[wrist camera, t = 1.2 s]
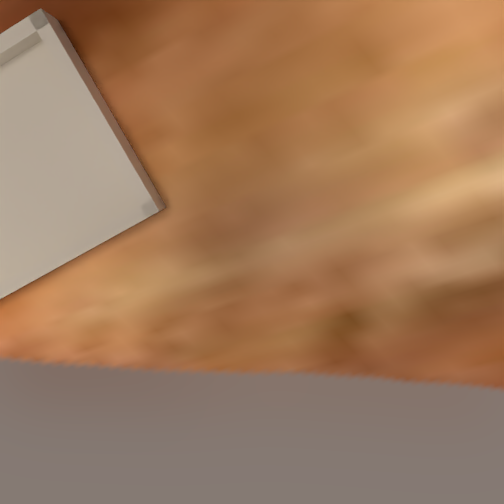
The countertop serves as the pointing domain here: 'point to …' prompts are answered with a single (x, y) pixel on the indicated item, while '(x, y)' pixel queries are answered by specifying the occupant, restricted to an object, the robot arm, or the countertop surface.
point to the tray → (59, 157)
